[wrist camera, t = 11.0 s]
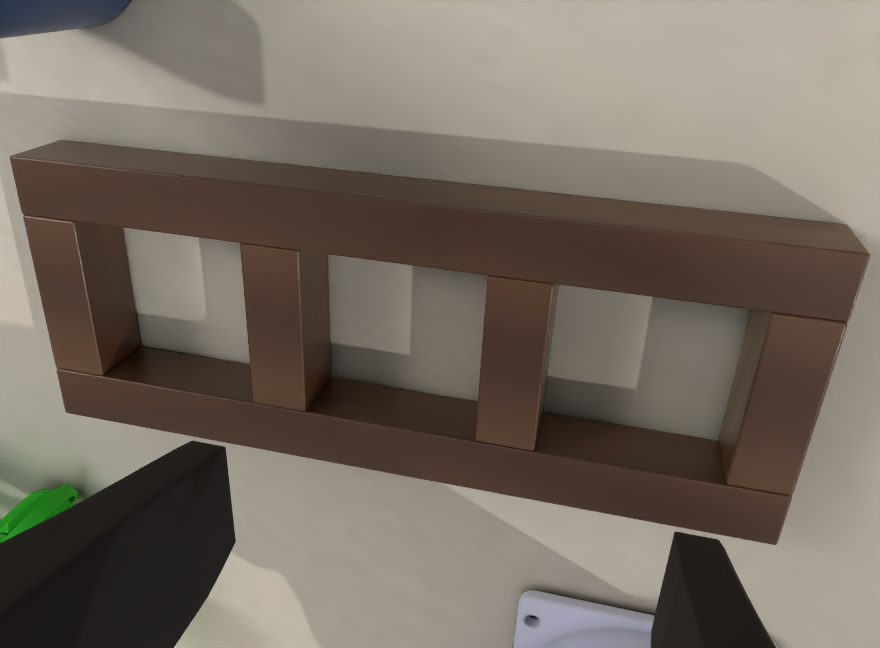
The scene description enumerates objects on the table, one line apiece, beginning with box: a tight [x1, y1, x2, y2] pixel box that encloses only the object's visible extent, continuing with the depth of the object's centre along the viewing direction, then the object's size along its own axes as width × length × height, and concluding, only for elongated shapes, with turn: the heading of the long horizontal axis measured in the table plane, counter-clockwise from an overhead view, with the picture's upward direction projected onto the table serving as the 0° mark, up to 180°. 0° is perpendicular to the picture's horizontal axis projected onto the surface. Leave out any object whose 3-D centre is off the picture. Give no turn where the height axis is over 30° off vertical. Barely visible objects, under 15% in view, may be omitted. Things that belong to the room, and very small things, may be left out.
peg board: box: [10, 140, 870, 545], centre depth 20 cm, size 8×21×2 cm, turn 88°
